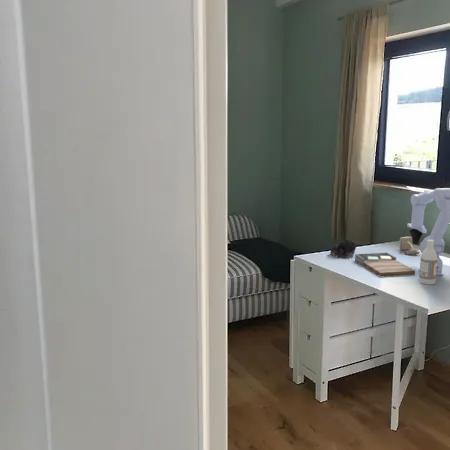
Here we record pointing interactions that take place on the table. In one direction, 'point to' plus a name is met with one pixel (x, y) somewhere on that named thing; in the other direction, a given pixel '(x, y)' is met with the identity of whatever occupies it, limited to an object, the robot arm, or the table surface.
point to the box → (363, 257)
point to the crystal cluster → (344, 249)
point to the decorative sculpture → (407, 246)
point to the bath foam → (428, 264)
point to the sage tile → (372, 259)
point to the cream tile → (385, 258)
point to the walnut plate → (389, 268)
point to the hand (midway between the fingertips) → (415, 243)
